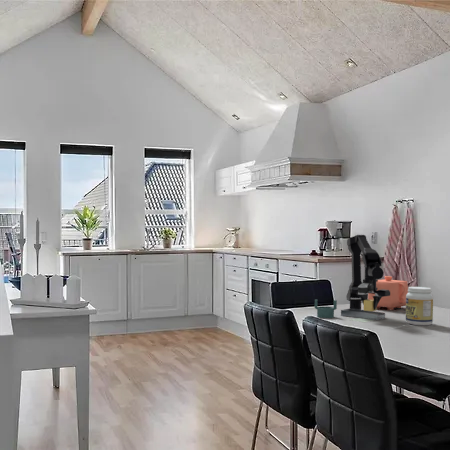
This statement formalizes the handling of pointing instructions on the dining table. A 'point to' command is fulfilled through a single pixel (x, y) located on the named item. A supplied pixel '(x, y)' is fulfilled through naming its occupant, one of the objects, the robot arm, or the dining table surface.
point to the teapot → (391, 293)
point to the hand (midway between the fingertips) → (370, 309)
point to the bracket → (325, 310)
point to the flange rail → (363, 314)
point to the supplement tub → (419, 306)
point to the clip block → (369, 305)
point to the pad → (361, 320)
